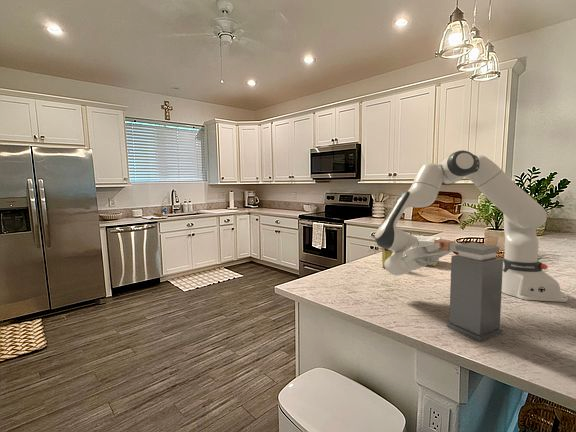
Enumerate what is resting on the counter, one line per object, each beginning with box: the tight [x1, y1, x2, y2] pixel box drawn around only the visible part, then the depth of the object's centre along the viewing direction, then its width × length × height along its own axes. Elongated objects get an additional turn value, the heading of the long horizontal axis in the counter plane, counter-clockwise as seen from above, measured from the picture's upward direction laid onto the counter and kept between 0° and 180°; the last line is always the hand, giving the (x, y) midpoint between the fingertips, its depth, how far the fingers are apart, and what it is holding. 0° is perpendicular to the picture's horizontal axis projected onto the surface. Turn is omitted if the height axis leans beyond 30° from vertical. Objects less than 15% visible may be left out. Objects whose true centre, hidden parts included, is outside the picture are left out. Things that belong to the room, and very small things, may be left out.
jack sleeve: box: [446, 254, 504, 343], centre depth 96 cm, size 11×11×24 cm
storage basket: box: [413, 234, 442, 267], centre depth 180 cm, size 24×16×15 cm
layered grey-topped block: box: [434, 238, 500, 262], centre depth 100 cm, size 18×8×24 cm, turn 26°
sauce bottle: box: [381, 247, 393, 270], centre depth 168 cm, size 7×6×20 cm
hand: (446, 243), depth 104 cm, fingers open, 4 cm apart
